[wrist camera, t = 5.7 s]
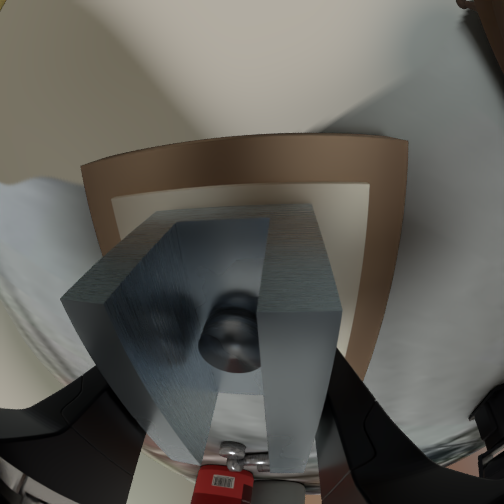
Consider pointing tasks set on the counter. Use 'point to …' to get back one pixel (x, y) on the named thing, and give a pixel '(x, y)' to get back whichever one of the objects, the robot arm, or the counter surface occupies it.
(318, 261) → the housing
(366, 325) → the picture frame
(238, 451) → the loose bolts
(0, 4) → the cheese
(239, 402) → the counter surface
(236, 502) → the canned food
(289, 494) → the water bottle
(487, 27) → the alarm clock
